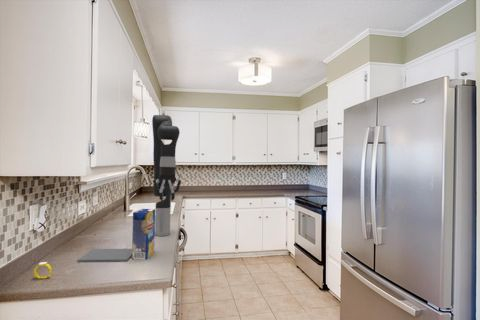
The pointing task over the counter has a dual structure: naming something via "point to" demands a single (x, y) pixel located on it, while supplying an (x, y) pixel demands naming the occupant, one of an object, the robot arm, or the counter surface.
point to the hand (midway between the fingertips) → (166, 200)
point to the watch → (42, 265)
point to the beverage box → (143, 233)
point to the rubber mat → (107, 255)
